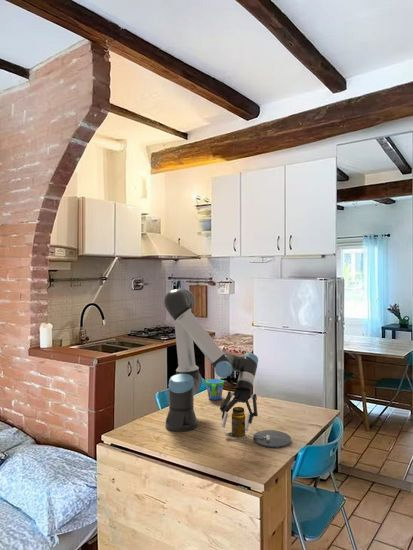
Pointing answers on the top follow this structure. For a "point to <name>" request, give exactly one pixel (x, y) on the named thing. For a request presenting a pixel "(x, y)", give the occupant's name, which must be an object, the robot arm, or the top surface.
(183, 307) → the robot arm
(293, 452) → the top surface
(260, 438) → the grey round disc
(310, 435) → the top surface
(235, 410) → the condiment
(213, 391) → the snack cup
